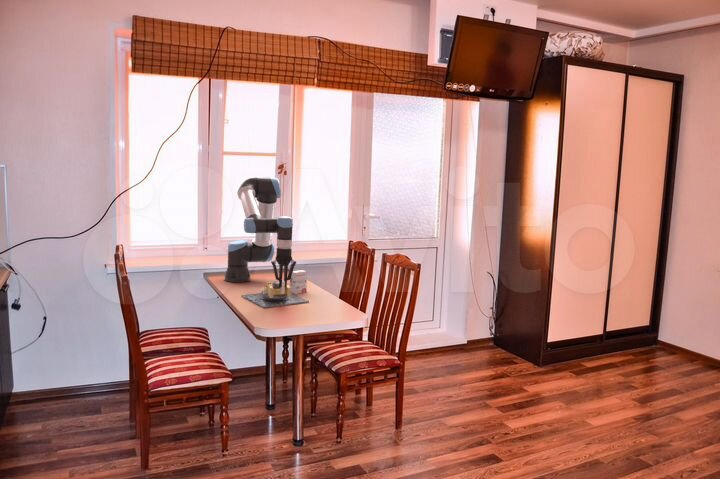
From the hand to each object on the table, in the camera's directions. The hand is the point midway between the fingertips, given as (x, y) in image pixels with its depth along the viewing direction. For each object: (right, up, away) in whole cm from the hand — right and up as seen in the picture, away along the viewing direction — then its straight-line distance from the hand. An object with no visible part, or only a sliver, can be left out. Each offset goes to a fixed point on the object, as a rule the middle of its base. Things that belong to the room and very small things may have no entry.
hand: (282, 293), depth 297 cm
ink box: (+5, -2, +28) cm, 29 cm away
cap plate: (-5, -4, +10) cm, 12 cm away
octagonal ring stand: (-4, 0, +6) cm, 7 cm away
